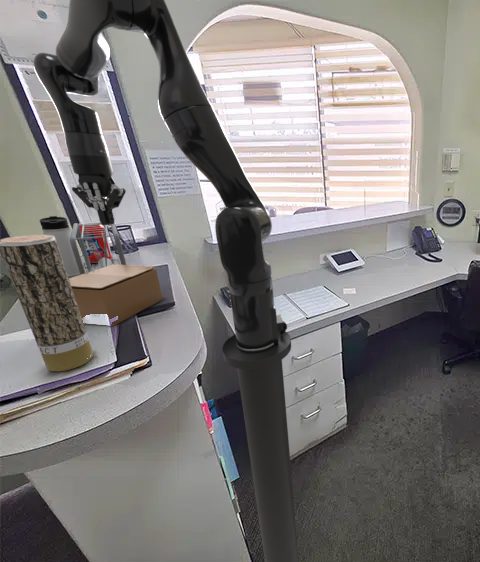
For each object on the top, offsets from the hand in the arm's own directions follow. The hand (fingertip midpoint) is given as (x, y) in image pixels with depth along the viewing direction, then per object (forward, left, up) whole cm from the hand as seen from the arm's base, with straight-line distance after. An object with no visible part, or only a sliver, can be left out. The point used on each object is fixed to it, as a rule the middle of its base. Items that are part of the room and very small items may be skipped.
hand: (108, 224), depth 82 cm
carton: (+1, +7, -22) cm, 23 cm away
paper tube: (+2, +32, -22) cm, 39 cm away
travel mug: (+22, -29, -22) cm, 43 cm away
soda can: (+19, -47, -22) cm, 55 cm away
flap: (-1, +3, -12) cm, 13 cm away
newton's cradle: (+9, -20, -22) cm, 31 cm away
